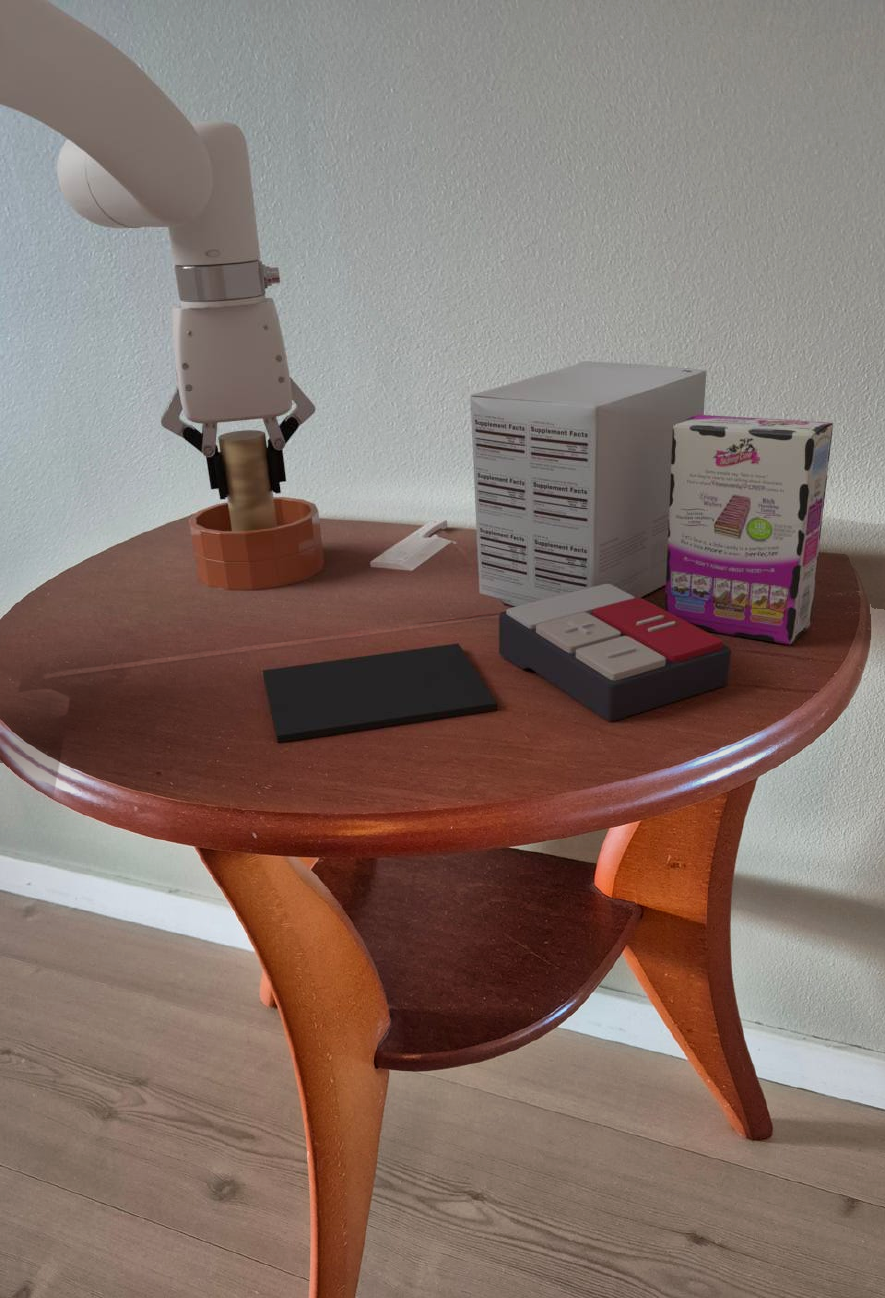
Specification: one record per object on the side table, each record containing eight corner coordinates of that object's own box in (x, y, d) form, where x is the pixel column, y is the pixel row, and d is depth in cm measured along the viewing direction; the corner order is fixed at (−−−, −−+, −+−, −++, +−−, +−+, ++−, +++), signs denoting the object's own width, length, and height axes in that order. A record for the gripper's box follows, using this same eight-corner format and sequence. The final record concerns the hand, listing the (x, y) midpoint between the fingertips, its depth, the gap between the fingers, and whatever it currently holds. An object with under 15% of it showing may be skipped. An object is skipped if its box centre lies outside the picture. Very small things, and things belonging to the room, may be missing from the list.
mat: (277, 743, 76) (276, 735, 76) (263, 676, 86) (262, 669, 86) (497, 710, 79) (497, 702, 79) (458, 649, 89) (458, 642, 89)
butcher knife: (475, 530, 117) (475, 520, 117) (415, 575, 106) (414, 564, 105) (433, 526, 119) (432, 516, 119) (369, 570, 108) (368, 559, 107)
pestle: (239, 578, 106) (219, 442, 100) (236, 564, 110) (217, 432, 104) (284, 572, 107) (267, 437, 101) (280, 559, 111) (263, 428, 104)
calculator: (612, 676, 74) (496, 603, 85) (609, 731, 76) (496, 653, 88) (735, 639, 78) (609, 574, 90) (728, 692, 81) (607, 623, 92)
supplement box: (582, 548, 110) (583, 359, 101) (698, 570, 103) (711, 368, 94) (472, 598, 99) (464, 391, 91) (593, 627, 92) (597, 404, 83)
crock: (201, 601, 103) (190, 539, 100) (197, 562, 113) (187, 505, 110) (331, 585, 105) (325, 523, 102) (315, 548, 115) (309, 491, 112)
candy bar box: (812, 626, 89) (837, 420, 81) (791, 647, 86) (815, 434, 78) (685, 605, 95) (697, 410, 87) (660, 624, 92) (670, 423, 83)
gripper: (311, 275, 100) (331, 475, 109) (124, 289, 98) (160, 493, 107) (321, 281, 94) (341, 493, 103) (121, 296, 91) (160, 512, 100)
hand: (249, 491), depth 105 cm, fingers closed on pestle, 4 cm apart
